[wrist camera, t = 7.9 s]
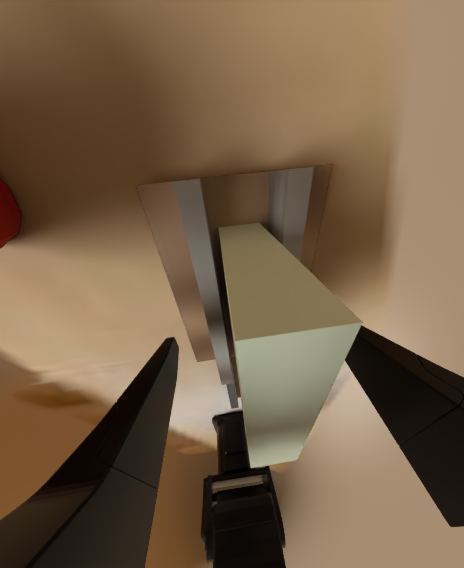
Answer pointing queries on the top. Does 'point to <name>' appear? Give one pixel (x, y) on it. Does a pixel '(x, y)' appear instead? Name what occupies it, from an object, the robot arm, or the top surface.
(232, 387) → the grey upright bracket
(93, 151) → the top surface
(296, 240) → the track plinth
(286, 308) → the door panel
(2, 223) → the plastic cup
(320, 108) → the top surface
